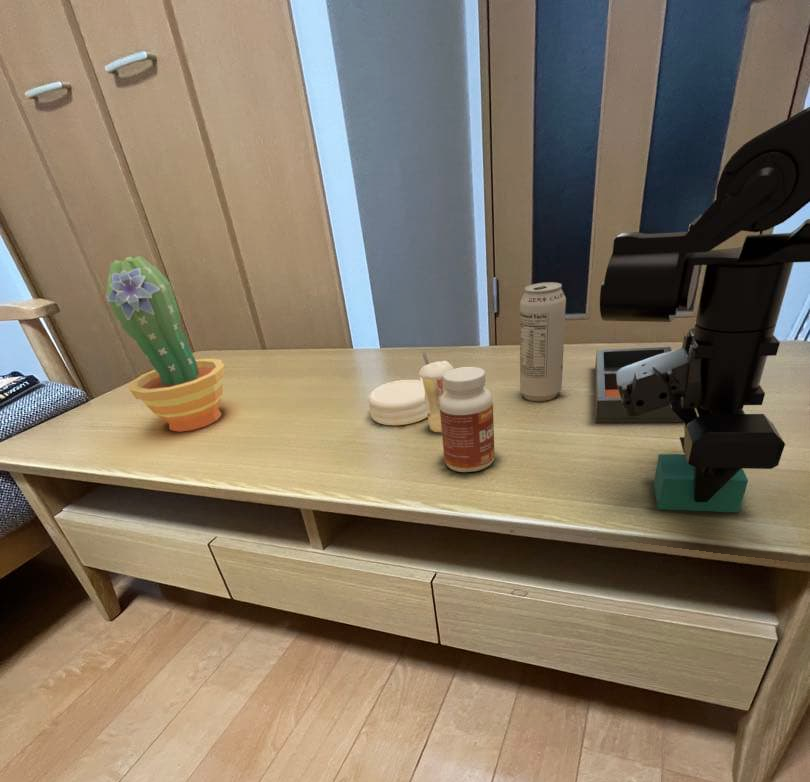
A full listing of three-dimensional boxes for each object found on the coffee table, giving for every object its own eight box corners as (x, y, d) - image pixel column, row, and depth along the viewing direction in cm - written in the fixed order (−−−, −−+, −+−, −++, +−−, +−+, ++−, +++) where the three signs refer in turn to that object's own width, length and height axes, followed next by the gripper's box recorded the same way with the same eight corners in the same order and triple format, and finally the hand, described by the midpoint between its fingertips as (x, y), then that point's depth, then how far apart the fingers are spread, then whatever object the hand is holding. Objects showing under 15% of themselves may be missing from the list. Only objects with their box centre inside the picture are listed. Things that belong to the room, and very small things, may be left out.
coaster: (357, 419, 79) (353, 397, 77) (401, 396, 85) (398, 374, 83) (405, 432, 73) (401, 408, 71) (449, 406, 79) (447, 383, 77)
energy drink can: (570, 394, 76) (576, 284, 67) (536, 406, 74) (538, 294, 66) (544, 384, 81) (546, 279, 72) (512, 394, 79) (510, 288, 70)
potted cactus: (129, 438, 86) (47, 272, 71) (189, 401, 97) (129, 251, 82) (202, 442, 80) (131, 263, 65) (257, 402, 91) (206, 242, 77)
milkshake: (444, 416, 76) (438, 347, 70) (463, 428, 72) (458, 355, 66) (417, 425, 75) (408, 355, 69) (435, 437, 70) (427, 365, 65)
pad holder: (594, 369, 83) (596, 350, 81) (666, 367, 80) (670, 346, 78) (595, 423, 68) (597, 400, 66) (684, 422, 65) (689, 398, 63)
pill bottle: (490, 475, 61) (486, 383, 54) (439, 473, 63) (429, 384, 56) (498, 450, 65) (496, 363, 59) (451, 449, 67) (443, 364, 61)
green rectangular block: (728, 485, 53) (736, 454, 51) (738, 512, 49) (748, 480, 47) (653, 483, 55) (658, 453, 53) (657, 509, 51) (663, 478, 49)
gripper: (623, 301, 51) (607, 443, 61) (634, 365, 37) (611, 537, 47) (751, 292, 48) (714, 443, 57) (817, 359, 34) (753, 546, 43)
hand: (696, 486), depth 51 cm, fingers closed on green rectangular block, 5 cm apart
